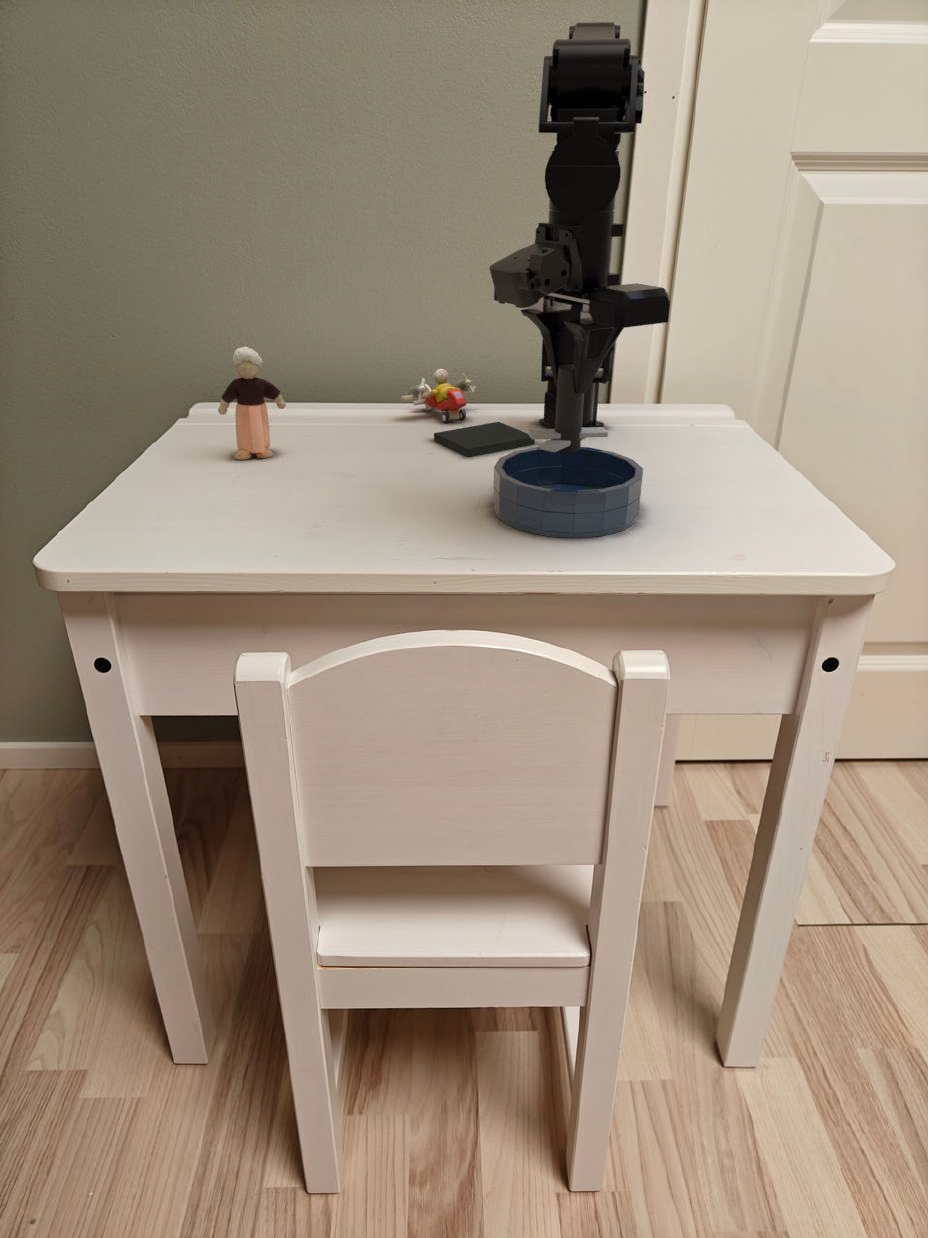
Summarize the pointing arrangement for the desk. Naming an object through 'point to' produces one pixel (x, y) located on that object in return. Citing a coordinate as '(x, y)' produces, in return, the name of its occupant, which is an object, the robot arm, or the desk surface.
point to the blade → (567, 418)
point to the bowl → (567, 492)
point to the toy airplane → (442, 395)
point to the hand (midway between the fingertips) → (570, 389)
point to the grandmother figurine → (250, 405)
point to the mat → (483, 438)
